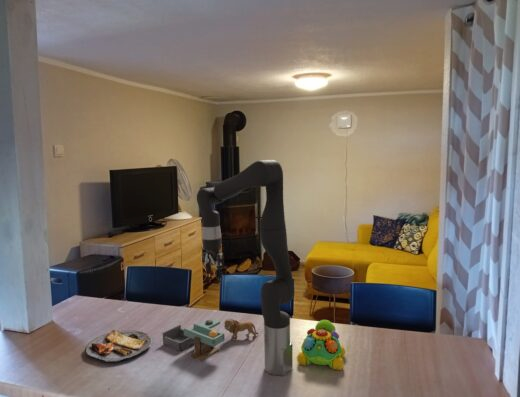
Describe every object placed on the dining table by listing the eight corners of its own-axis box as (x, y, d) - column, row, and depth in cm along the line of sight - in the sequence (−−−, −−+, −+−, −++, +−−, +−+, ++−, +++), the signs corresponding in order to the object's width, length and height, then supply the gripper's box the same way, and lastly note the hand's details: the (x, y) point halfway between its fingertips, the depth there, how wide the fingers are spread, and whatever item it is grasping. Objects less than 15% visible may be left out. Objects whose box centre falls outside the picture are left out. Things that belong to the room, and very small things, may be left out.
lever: (241, 330, 164) (241, 324, 164) (213, 346, 152) (213, 339, 151) (211, 320, 174) (211, 314, 174) (183, 334, 162) (182, 328, 161)
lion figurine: (226, 343, 168) (225, 322, 167) (223, 337, 173) (222, 317, 172) (260, 337, 172) (260, 317, 171) (256, 332, 177) (256, 312, 176)
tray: (197, 342, 169) (196, 331, 168) (180, 351, 162) (179, 339, 161) (180, 335, 175) (179, 324, 174) (163, 344, 168) (162, 332, 167)
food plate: (73, 354, 161) (72, 345, 160) (118, 330, 181) (118, 322, 181) (119, 371, 149) (119, 362, 149) (162, 344, 170) (162, 336, 169)
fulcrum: (219, 350, 162) (218, 331, 161) (200, 361, 154) (200, 341, 153) (208, 346, 166) (207, 327, 165) (189, 356, 158) (188, 336, 157)
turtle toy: (347, 345, 165) (347, 317, 164) (342, 376, 143) (343, 345, 141) (305, 340, 170) (305, 313, 168) (294, 370, 148) (294, 339, 146)
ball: (219, 338, 156) (219, 330, 156) (213, 341, 154) (213, 333, 153) (213, 336, 158) (212, 328, 158) (207, 339, 156) (207, 331, 155)
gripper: (228, 238, 163) (230, 277, 164) (211, 233, 174) (213, 270, 176) (212, 241, 158) (214, 281, 160) (195, 235, 170) (197, 274, 172)
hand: (213, 275), depth 168 cm, fingers open, 8 cm apart
